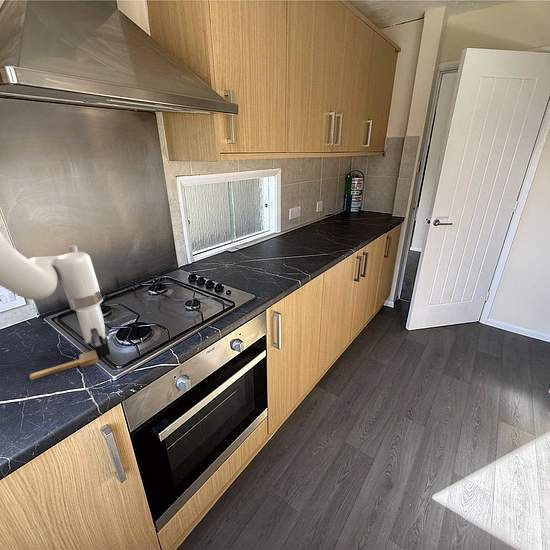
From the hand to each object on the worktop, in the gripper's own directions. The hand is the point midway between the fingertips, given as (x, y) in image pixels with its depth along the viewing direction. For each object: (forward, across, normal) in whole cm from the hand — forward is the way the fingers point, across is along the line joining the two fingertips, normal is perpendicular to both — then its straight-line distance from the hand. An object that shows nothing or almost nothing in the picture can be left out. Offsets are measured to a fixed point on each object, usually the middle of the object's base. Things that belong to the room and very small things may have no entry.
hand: (104, 354), depth 85 cm
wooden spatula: (+1, 0, -9) cm, 9 cm away
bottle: (+1, -34, -3) cm, 35 cm away
